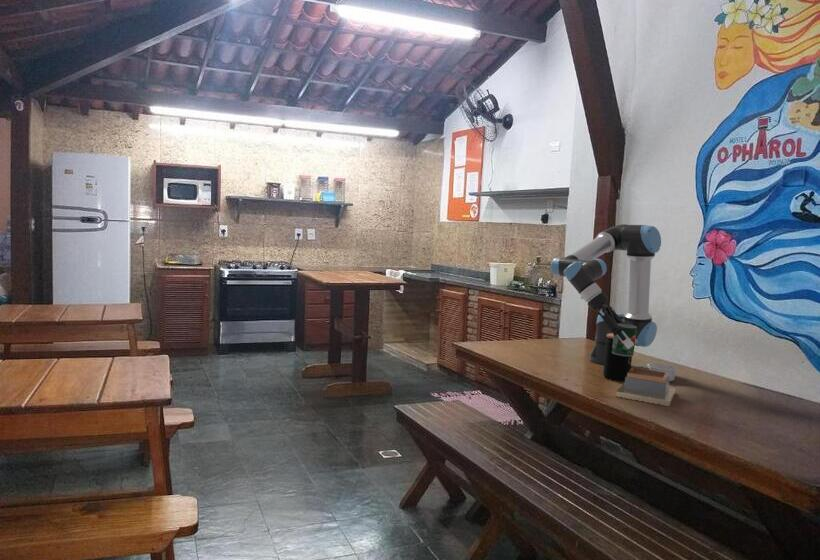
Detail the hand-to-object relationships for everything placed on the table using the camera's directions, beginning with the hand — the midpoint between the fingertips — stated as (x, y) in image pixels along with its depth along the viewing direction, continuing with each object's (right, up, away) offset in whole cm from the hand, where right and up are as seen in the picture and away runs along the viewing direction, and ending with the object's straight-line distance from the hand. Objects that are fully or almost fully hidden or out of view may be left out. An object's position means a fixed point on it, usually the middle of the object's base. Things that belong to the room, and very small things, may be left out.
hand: (633, 345), depth 226 cm
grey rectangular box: (+5, -19, 0) cm, 19 cm away
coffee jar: (+2, -17, +24) cm, 29 cm away
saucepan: (+18, -17, +27) cm, 37 cm away
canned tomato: (-3, -4, +2) cm, 5 cm away
